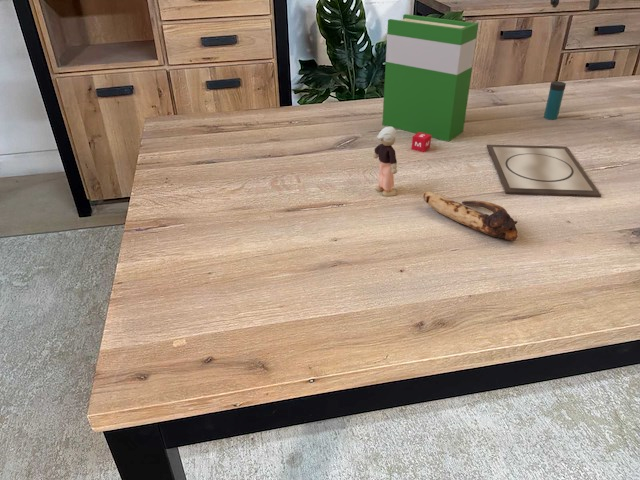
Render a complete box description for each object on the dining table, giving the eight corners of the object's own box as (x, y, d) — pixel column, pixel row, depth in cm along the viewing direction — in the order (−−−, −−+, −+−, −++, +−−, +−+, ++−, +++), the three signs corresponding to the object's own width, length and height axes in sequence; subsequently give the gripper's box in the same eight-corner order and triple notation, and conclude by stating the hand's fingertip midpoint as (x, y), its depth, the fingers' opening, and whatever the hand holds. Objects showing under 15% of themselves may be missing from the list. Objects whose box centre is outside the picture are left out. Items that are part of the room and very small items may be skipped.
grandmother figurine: (405, 194, 100) (411, 130, 93) (390, 200, 98) (394, 136, 91) (379, 179, 105) (382, 118, 98) (363, 185, 103) (366, 122, 96)
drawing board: (566, 148, 116) (566, 145, 116) (600, 197, 98) (601, 194, 98) (486, 146, 118) (487, 143, 117) (505, 194, 100) (506, 191, 99)
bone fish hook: (533, 231, 89) (443, 193, 100) (540, 207, 87) (447, 170, 97) (505, 252, 84) (413, 210, 94) (512, 227, 81) (416, 186, 92)
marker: (555, 115, 133) (563, 81, 128) (559, 120, 130) (567, 85, 126) (541, 115, 133) (549, 81, 129) (545, 119, 131) (553, 85, 126)
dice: (423, 152, 116) (424, 139, 114) (411, 149, 117) (412, 136, 116) (430, 147, 118) (431, 134, 116) (418, 144, 119) (419, 131, 118)
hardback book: (382, 124, 130) (388, 19, 116) (398, 115, 134) (405, 14, 121) (448, 141, 120) (462, 29, 107) (463, 131, 125) (478, 23, 112)
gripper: (556, -71, 123) (549, -4, 122) (619, -65, 122) (612, 3, 121) (544, -51, 130) (537, 12, 129) (603, -45, 130) (597, 19, 129)
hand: (573, 8), depth 125 cm, fingers open, 8 cm apart
